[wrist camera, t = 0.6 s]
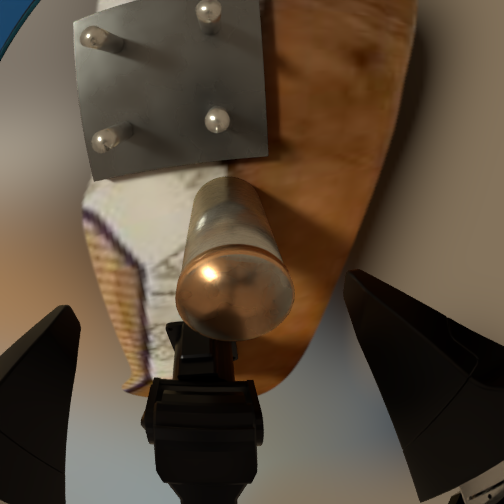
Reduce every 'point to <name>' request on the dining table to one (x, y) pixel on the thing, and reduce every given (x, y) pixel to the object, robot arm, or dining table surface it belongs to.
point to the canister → (232, 266)
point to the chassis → (170, 84)
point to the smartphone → (13, 20)
